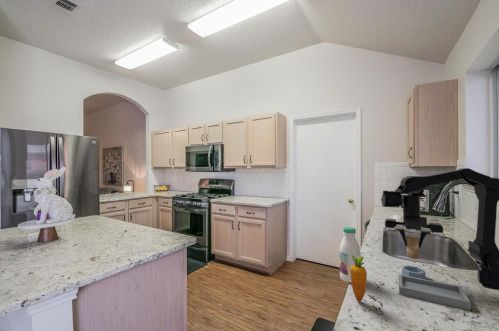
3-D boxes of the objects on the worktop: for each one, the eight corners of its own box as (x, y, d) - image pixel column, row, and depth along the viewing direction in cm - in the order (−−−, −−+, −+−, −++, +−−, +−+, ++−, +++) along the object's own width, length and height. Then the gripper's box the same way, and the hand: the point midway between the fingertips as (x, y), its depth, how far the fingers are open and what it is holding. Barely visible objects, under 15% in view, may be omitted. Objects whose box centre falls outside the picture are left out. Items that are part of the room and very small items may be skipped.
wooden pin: (418, 256, 92) (418, 236, 92) (419, 259, 89) (419, 238, 89) (406, 254, 94) (406, 235, 95) (407, 257, 91) (406, 237, 91)
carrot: (347, 298, 76) (346, 252, 76) (361, 297, 76) (360, 252, 77) (355, 306, 71) (354, 258, 72) (371, 306, 71) (369, 257, 72)
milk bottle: (360, 276, 92) (358, 226, 93) (362, 285, 85) (361, 230, 86) (339, 273, 95) (338, 225, 95) (340, 282, 87) (339, 229, 88)
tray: (461, 293, 78) (461, 286, 78) (470, 310, 69) (470, 302, 69) (398, 280, 88) (398, 274, 88) (399, 294, 78) (399, 286, 78)
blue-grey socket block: (424, 275, 93) (424, 268, 93) (426, 283, 86) (426, 274, 86) (401, 271, 97) (401, 264, 97) (402, 278, 90) (402, 270, 90)
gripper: (383, 208, 91) (385, 248, 90) (445, 212, 80) (446, 257, 80) (385, 205, 100) (386, 241, 99) (440, 208, 90) (441, 248, 89)
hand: (412, 246), depth 92 cm, fingers closed on wooden pin, 4 cm apart
